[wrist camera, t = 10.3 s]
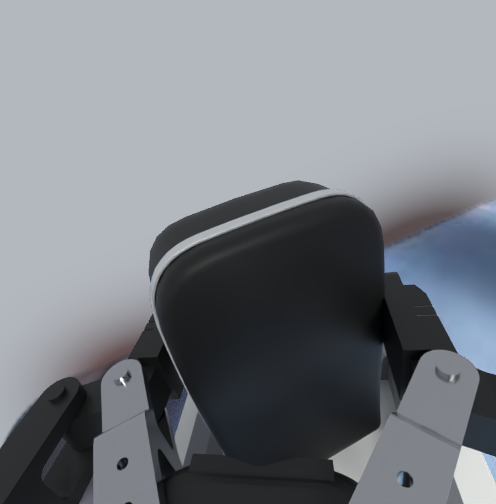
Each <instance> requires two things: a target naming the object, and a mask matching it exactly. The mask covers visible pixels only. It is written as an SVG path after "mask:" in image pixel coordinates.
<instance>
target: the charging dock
mask: <svg viewBox="0 0 496 504" xmlns="http://www.w3.org/2000/svg"><path fill="white" fill-rule="evenodd" d="M400 403H401V401H400V399H399V396H398V392H397V389H396V385H395V382H394V379H393V375H392V372H391V368H390V365H389V361H388V358H387V355H386V351H385V348H384V344H383V352H382V366H381V378H380V413H381V424H380V427H379V428H378V429H377V430H375V431H374V432H372V433H371V434H369V435H367V436H366V437H364V438H362V439H361V440H359V441H357V442H356V443H354V444H353V445H351V446H349V447H348V448H346V449H344V450H342V451H341V452H339V453H337V454H336V455H334V456H332V457H331V458H329V459H330V460H333V465H334V471H335V472H338V473H341V474H343V475H345V476H347V477H349V478H352V479H353V480H355V481H356V482H359V480H360V478H361V476H362V474H363V471H364V469H365V467H366V465H367V463H368V461H369V458H370V456H371V454H372V452H373V450H374V448H375V445H376V443H377V441H378V439H379V437H380V434H381V432H382V430H383V428H384V426H385V424H386V421H387V419H388V418H389V416H390V414H391V413H392V412H394V413H395V412H396V411H397V409H398V407H399V405H400ZM174 439H175V443H176V447H177V451H178V455H179V458H180V461H181V463H182V466H183V468H184V467H186V466H189V465H190V463H191V459H192V455H193V454H215V455H224V454H223V452H222V450H221V448H220V447H219V445H218V443H217V442H216V440H215V438H214V437H213V435H212V434H211V432H210V431H209V429H208V427H207V426H206V424H205V422H204V420H203V419H202V417H201V415H200V414H199V412H198V410H197V409H196V407H195V405H194V403H193V402H192V400H191V398H190V396H189V394H188V396H187V399H186V402H185V405H184V408H183V412H182V415H181V418H180V421H179V424H178V427H177V431H176V434H175V437H174ZM446 504H496V483H495V480H494V478H493V476H492V474H491V472H490V469H489V467H488V465H487V463H486V461H485V458H484V456H483V454H482V452H480V451H477V450H474V449H471V448H468V447H465V446H462V447H461V450H460V454H459V458H458V461H457V465H456V469H455V472H454V476H453V480H452V483H451V487H450V491H449V494H448V498H447V502H446Z"/></svg>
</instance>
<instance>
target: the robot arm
mask: <svg viewBox="0 0 496 504" xmlns="http://www.w3.org/2000/svg"><path fill="white" fill-rule="evenodd" d="M383 344H384V348H385V351H386V355H387V358H388V361H389V365H390V368H391V372H392V375H393V379H394V382H395V385H396V389H397V392H398V396H399V399H400V401H401V403H400V405H399V407H398V409H397V411H396V412H395V413H394V412H392V413H391V414H390V416H389V418H388V419H387V421H386V424H385V426H384V428H383V430H382V432H381V434H380V437H379V439H378V441H377V443H376V445H375V448H374V450H373V452H372V454H371V456H370V458H369V461H368V463H367V465H366V467H365V469H364V471H363V474H362V476H361V478H360V480H359V482H356V481H355V480H353V479H352V478H349V477H347V476H345V475H343V474H341V473H338V472H335V471H334V465H333V460H330V459H307V458H294V459H290V460H286V461H281V462H277V463H273V464H269V465H265V466H261V467H257V466H253V465H251V464H248V463H245V462H243V461H240V460H237V459H234V458H232V457H229V456H226V455H215V454H193V455H192V459H191V463H190V465H189V466H186V467H184V468H183V466H182V463H181V461H180V458H179V455H178V451H177V447H176V443H175V439H174V435H173V431H172V427H171V423H170V419H169V415H168V411H167V409H166V404H167V401H168V399H180V396H181V393H182V390H183V387H184V385H183V383H182V381H181V379H180V377H179V375H178V373H177V371H176V369H175V366H174V364H173V362H172V360H171V358H170V355H169V353H168V351H167V349H166V347H165V344H164V342H163V340H162V337H161V335H160V333H159V330H158V328H157V325H156V322H155V318H154V315H153V314H152V316H151V318H150V320H149V323H147V325H146V327H145V330H144V331H143V332H142V334H141V336H140V338H139V340H138V341H137V343H136V345H135V347H134V349H133V350H132V352H131V354H130V356H129V358H128V359H127V360H124V361H121V362H119V363H117V364H116V365H114V366H113V367H112V368H110V369H109V370H108V371H107V373H106V374H105V375H104V377H103V379H101V380H98V381H95V382H92V383H89V384H85V385H81V384H80V382H79V381H78V380H77V379H76V378H74V377H68V378H64V379H61V380H59V381H57V382H55V383H54V384H52V385H51V386H50V387H49V388H47V389H46V390H45V391H44V392H43V394H42V395H41V396H40V397H39V399H38V400H37V401H36V403H35V404H34V405H33V407H32V408H31V409H30V410H29V412H28V413H27V414H26V416H25V417H24V418H23V420H22V421H21V422H20V424H19V425H18V426H17V427H16V429H15V430H14V431H13V433H12V434H11V435H10V437H9V438H8V439H7V441H6V442H5V443H4V444H3V446H2V447H1V448H0V504H79V502H80V500H81V498H82V496H83V494H84V492H85V490H86V488H87V486H88V484H89V482H90V480H91V478H92V476H93V504H446V502H447V498H448V494H449V491H450V487H451V483H452V480H453V476H454V472H455V469H456V465H457V461H458V458H459V454H460V450H461V447H462V446H465V447H468V448H471V449H474V450H477V451H480V452H483V453H486V454H489V455H492V456H495V457H496V375H494V374H490V373H487V372H484V371H481V370H479V369H477V368H476V367H475V366H474V365H473V364H472V363H471V362H470V361H469V360H468V359H466V358H465V357H463V356H461V355H460V354H458V353H457V351H456V349H455V347H454V346H453V344H452V342H451V340H450V338H449V336H448V334H447V332H446V331H445V329H444V327H443V325H442V323H441V321H440V319H439V317H438V316H437V314H436V312H435V310H434V308H433V307H432V304H431V302H430V300H429V298H428V297H427V295H426V293H425V292H423V291H422V290H421V289H419V288H418V287H417V286H416V285H403V284H402V282H401V279H400V277H399V275H398V273H397V272H390V273H385V295H384V331H383ZM62 437H63V438H64V439H65V440H66V441H67V442H66V444H65V445H64V447H63V449H62V450H61V452H60V454H59V455H58V457H57V459H56V460H55V462H54V464H53V465H52V467H51V468H50V470H49V472H48V473H47V475H46V477H45V478H44V480H43V482H42V479H41V474H42V470H43V467H44V465H45V463H46V462H47V460H48V459H49V457H50V455H51V454H52V452H53V451H54V449H55V447H56V446H57V444H58V443H59V441H60V439H61V438H62Z"/></svg>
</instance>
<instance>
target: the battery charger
mask: <svg viewBox="0 0 496 504" xmlns="http://www.w3.org/2000/svg"><path fill="white" fill-rule="evenodd" d="M149 276H150V282H151V285H150V300H151V306H152V311H153V315H154V318H155V322H156V325H157V328H158V330H159V333H160V335H161V337H162V340H163V342H164V344H165V347H166V349H167V351H168V353H169V355H170V358H171V360H172V362H173V364H174V366H175V369H176V371H177V373H178V375H179V377H180V379H181V381H182V383H183V385H184V387H185V389H186V391H187V392H188V394H189V396H190V398H191V400H192V402H193V403H194V405H195V407H196V409H197V410H198V412H199V414H200V415H201V417H202V419H203V420H204V422H205V424H206V426H207V427H208V429H209V431H210V432H211V434H212V435H213V437H214V438H215V440H216V442H217V443H218V445H219V447H220V448H221V450H222V452H223V454H224V455H226V456H229V457H232V458H234V459H237V460H240V461H243V462H245V463H248V464H251V465H253V466H257V467H261V466H265V465H269V464H273V463H277V462H281V461H286V460H290V459H294V458H307V459H329V458H331V457H332V456H334V455H336V454H337V453H339V452H341V451H342V450H344V449H346V448H348V447H349V446H351V445H353V444H354V443H356V442H357V441H359V440H361V439H362V438H364V437H366V436H367V435H369V434H371V433H372V432H374V431H375V430H377V429H378V428H379V427H380V424H381V413H380V378H381V366H382V352H383V331H384V295H385V273H384V243H383V236H382V229H381V226H380V224H379V221H378V219H377V217H376V215H375V213H374V212H373V210H371V209H370V208H369V207H367V206H366V205H365V203H364V202H363V201H362V200H361V199H360V198H359V197H357V196H355V195H353V194H350V193H348V192H345V191H342V190H338V189H329V188H326V187H324V186H321V185H319V184H315V183H309V182H303V181H293V182H287V183H282V184H279V185H276V186H273V187H270V188H267V189H263V190H260V191H257V192H254V193H250V194H247V195H244V196H241V197H238V198H235V199H232V200H230V201H227V202H224V203H222V204H219V205H216V206H214V207H211V208H208V209H206V210H203V211H200V212H198V213H195V214H192V215H190V216H187V217H185V218H183V219H181V220H179V221H177V222H175V223H173V224H171V225H169V226H168V227H167V228H166V229H165V230H164V231H163V232H162V233H161V234H159V235H158V236H157V238H156V240H155V242H154V244H153V246H152V248H151V250H150V261H149Z"/></svg>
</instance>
